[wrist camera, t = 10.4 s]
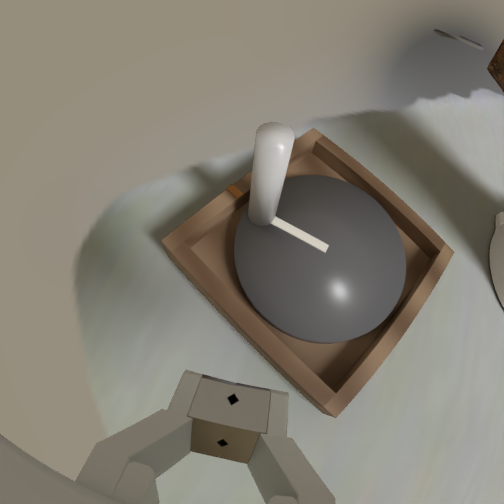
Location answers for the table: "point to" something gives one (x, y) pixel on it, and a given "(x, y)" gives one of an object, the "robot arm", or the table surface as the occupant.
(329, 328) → the dial
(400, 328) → the dial housing
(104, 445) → the robot arm
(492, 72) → the book
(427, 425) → the table surface
